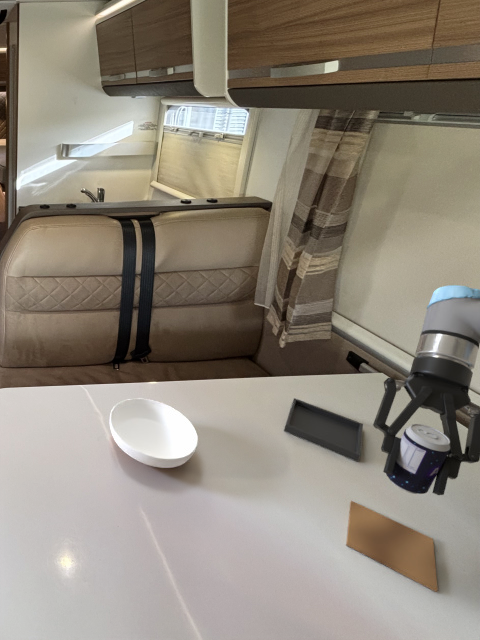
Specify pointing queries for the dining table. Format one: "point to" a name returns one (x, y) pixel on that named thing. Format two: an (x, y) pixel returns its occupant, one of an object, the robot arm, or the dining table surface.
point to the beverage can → (419, 458)
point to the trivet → (392, 545)
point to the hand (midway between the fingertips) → (412, 482)
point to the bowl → (153, 432)
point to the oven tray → (325, 429)
